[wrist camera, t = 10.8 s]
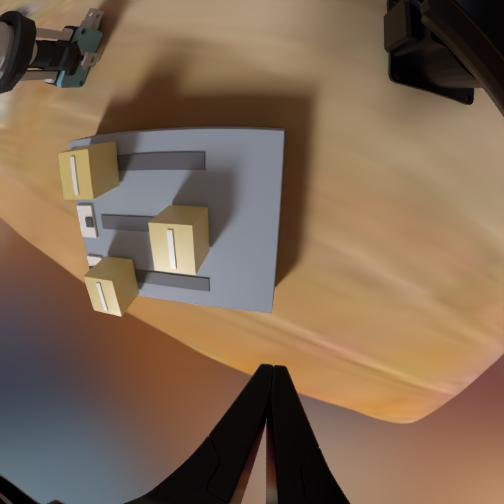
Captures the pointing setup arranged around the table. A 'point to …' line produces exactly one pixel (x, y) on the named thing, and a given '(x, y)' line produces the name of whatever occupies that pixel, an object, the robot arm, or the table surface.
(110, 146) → the slider
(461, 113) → the table surface
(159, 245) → the slider
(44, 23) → the table surface
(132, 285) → the slider
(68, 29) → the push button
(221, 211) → the switch unit
